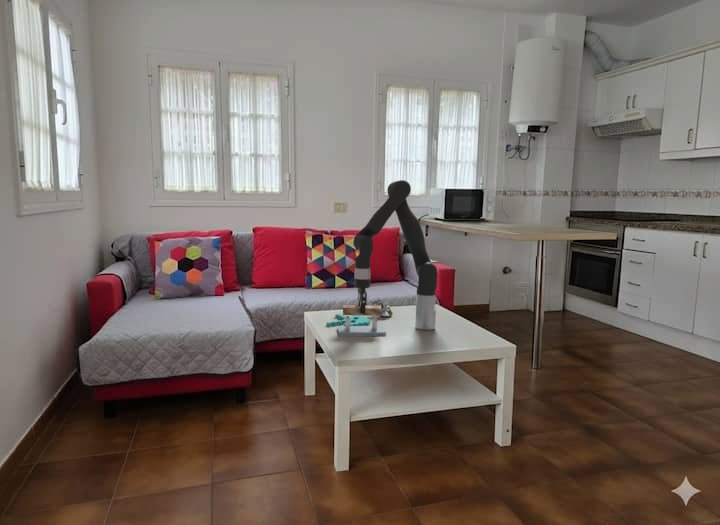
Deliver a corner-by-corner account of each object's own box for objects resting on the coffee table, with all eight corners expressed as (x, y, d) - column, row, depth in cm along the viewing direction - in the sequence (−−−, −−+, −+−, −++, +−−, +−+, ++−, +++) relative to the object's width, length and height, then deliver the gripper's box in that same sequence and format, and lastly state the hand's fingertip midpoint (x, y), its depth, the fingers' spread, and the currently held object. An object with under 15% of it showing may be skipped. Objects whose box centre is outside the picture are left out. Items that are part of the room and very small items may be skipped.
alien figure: (326, 327, 243) (365, 330, 239) (326, 323, 243) (365, 325, 239) (336, 317, 262) (372, 320, 258) (336, 313, 262) (372, 316, 258)
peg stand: (381, 328, 241) (381, 313, 240) (386, 335, 229) (386, 319, 228) (337, 329, 238) (337, 314, 237) (339, 336, 226) (339, 320, 225)
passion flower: (378, 327, 263) (366, 310, 260) (378, 319, 273) (366, 302, 270) (395, 317, 261) (383, 300, 258) (395, 309, 271) (383, 292, 268)
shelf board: (380, 312, 235) (380, 305, 234) (381, 315, 229) (381, 308, 228) (343, 312, 235) (343, 305, 235) (342, 315, 229) (342, 307, 229)
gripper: (372, 279, 223) (371, 315, 225) (367, 274, 237) (367, 308, 239) (356, 280, 222) (355, 315, 224) (352, 274, 236) (352, 308, 238)
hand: (361, 311), depth 232 cm, fingers closed on shelf board, 6 cm apart
